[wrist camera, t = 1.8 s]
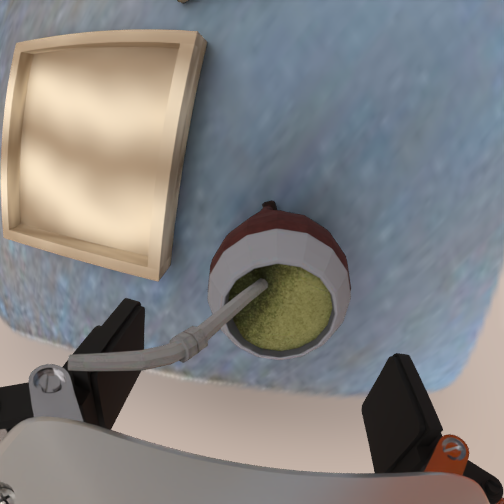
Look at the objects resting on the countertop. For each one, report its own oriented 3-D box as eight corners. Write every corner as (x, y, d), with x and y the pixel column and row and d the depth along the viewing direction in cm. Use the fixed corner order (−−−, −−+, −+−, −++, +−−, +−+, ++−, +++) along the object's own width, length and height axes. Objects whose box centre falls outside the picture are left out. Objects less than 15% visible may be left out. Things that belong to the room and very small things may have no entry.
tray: (36, 46, 16) (16, 43, 14) (207, 42, 16) (197, 31, 14) (22, 227, 22) (3, 237, 20) (170, 265, 22) (158, 281, 20)
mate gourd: (340, 283, 22) (398, 485, 8) (229, 305, 23) (177, 503, 9) (320, 175, 19) (420, 305, 5) (197, 204, 20) (58, 359, 6)
